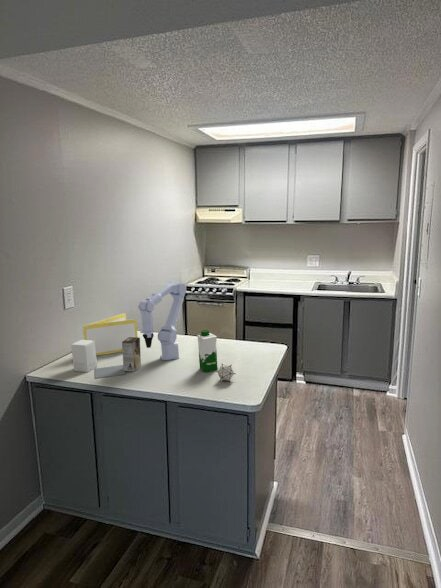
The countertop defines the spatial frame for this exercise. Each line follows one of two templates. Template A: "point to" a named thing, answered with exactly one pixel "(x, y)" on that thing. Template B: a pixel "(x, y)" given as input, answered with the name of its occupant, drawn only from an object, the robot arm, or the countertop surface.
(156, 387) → the countertop surface
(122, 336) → the yellow rectangular frame
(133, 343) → the coffee box
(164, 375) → the countertop surface
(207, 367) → the milk carton
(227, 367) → the spiky ball ornament
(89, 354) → the supplement box
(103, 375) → the mat
